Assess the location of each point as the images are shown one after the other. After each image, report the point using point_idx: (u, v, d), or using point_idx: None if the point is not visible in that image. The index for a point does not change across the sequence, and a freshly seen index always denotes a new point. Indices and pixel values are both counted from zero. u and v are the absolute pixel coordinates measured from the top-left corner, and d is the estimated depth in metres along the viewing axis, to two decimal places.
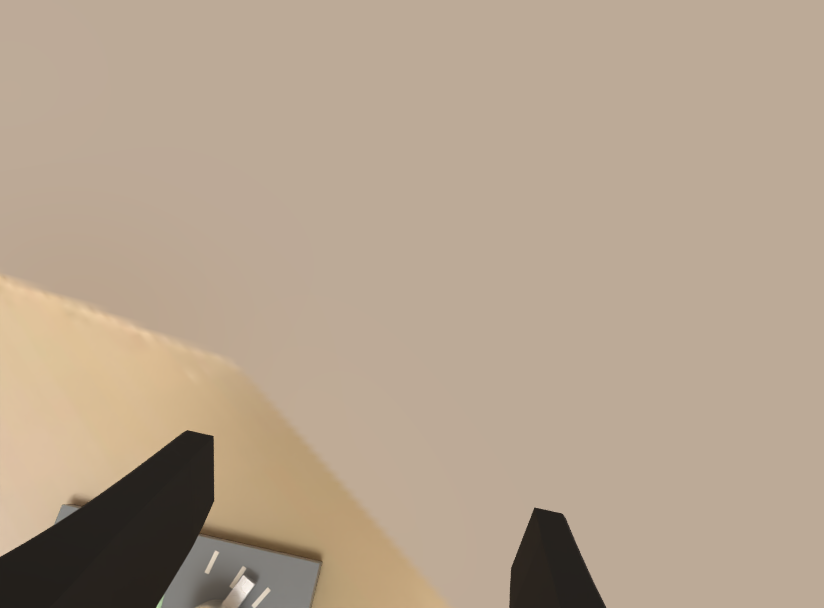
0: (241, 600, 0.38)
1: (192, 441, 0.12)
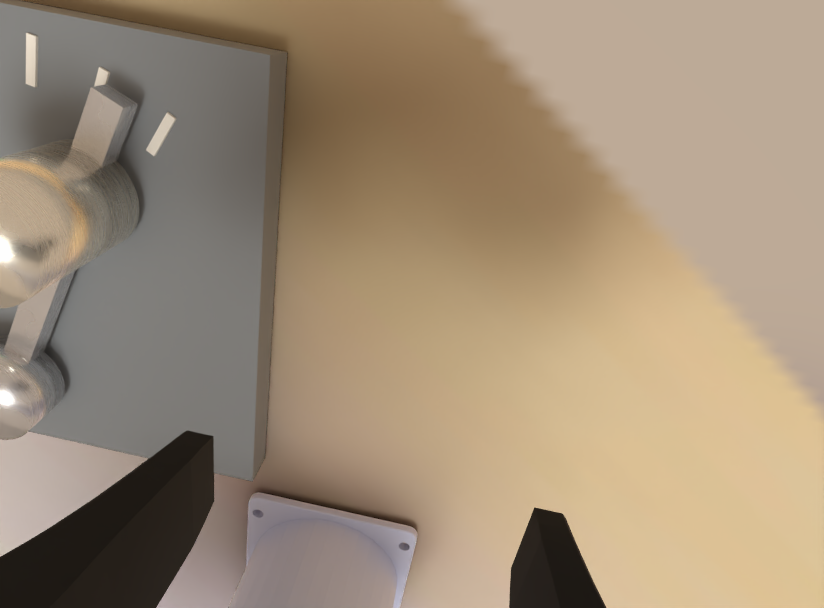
0: (108, 142, 0.17)
1: (192, 441, 0.12)
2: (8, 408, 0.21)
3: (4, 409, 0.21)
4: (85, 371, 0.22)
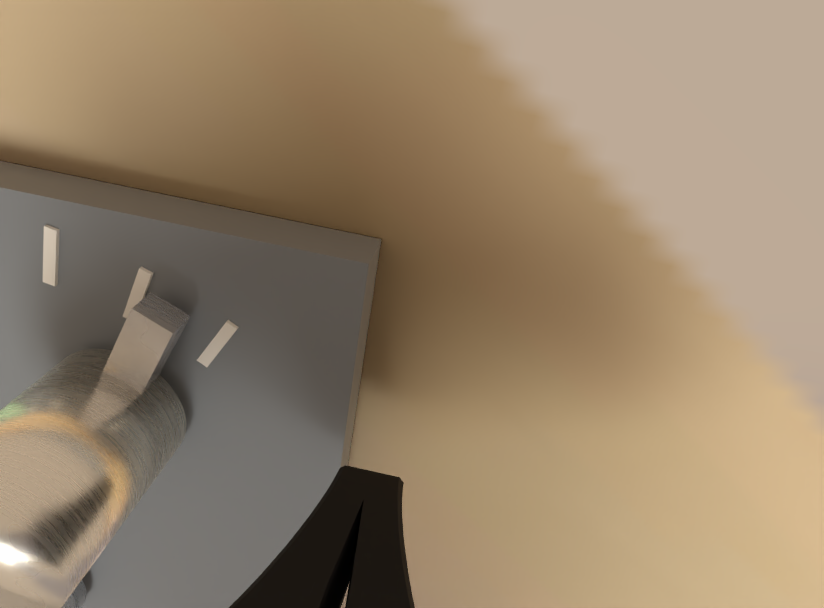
0: (151, 368, 0.13)
1: (355, 478, 0.12)
2: None
3: None
4: (111, 574, 0.19)
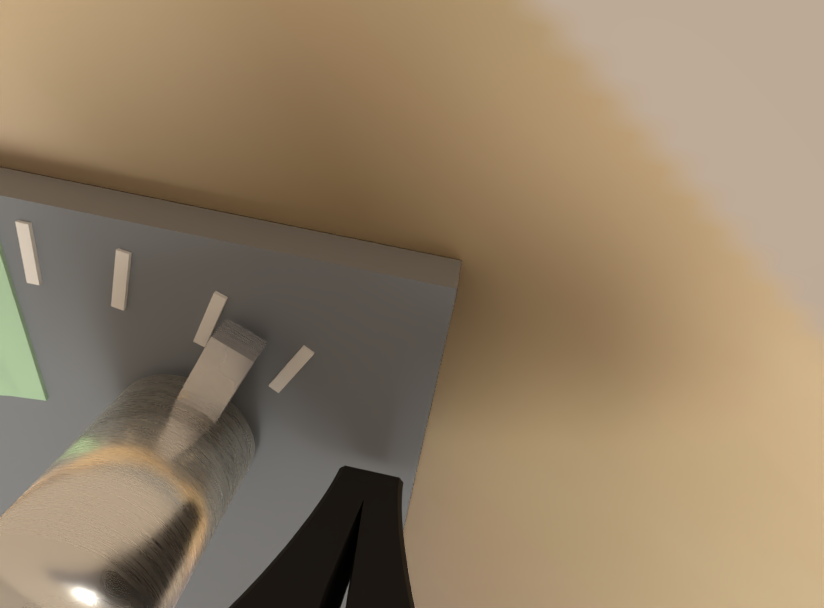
0: (227, 396, 0.12)
1: (355, 478, 0.12)
2: None
3: None
4: None
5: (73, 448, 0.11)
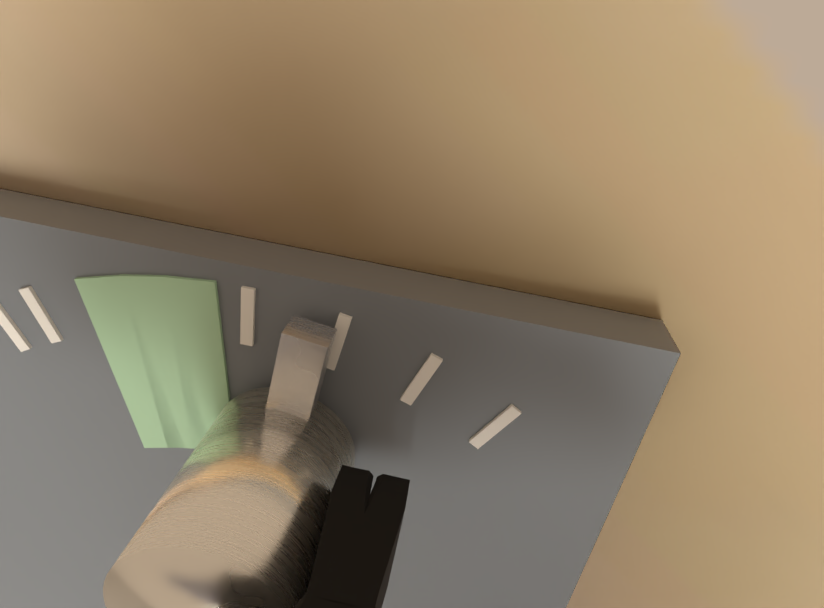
0: (312, 391, 0.12)
1: (394, 486, 0.12)
2: None
3: None
4: None
5: (181, 470, 0.12)
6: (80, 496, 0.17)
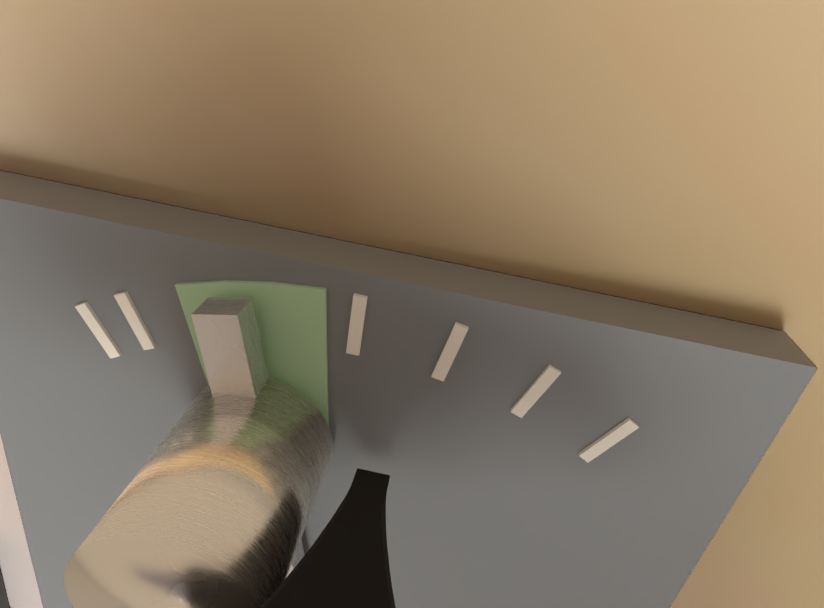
0: (245, 365, 0.12)
1: (374, 481, 0.12)
2: None
3: None
4: None
5: None
6: None
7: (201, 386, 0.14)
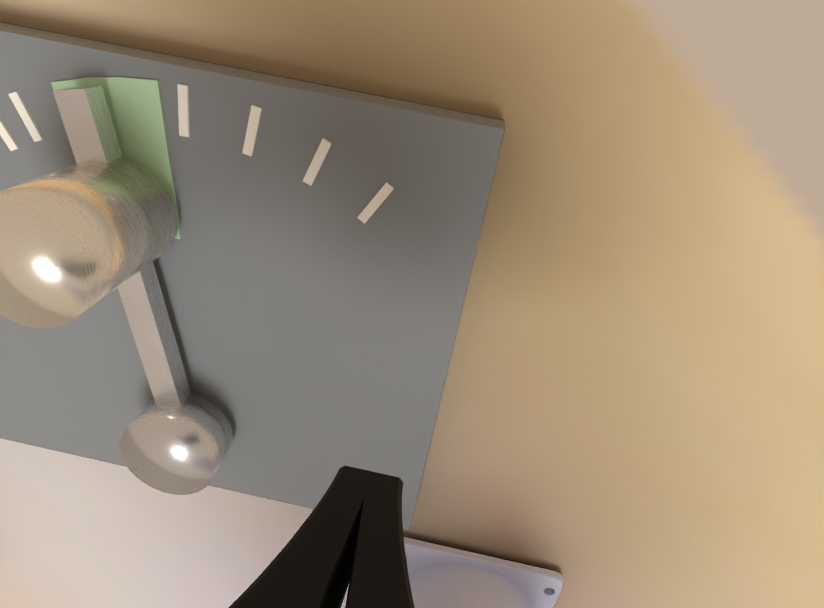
0: (96, 133, 0.16)
1: (356, 477, 0.12)
2: (186, 454, 0.21)
3: (183, 457, 0.21)
4: (252, 424, 0.22)
5: None
6: None
7: None
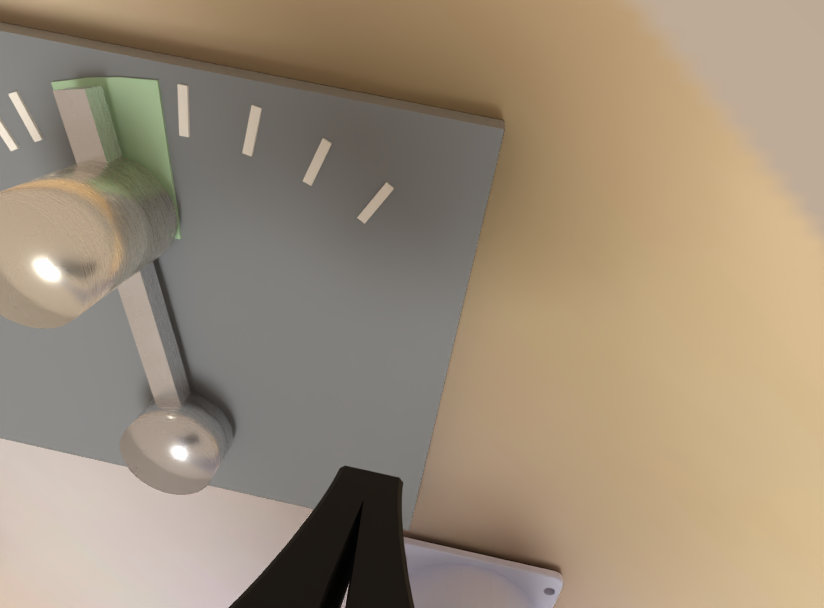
0: (96, 133, 0.16)
1: (356, 477, 0.12)
2: (186, 454, 0.21)
3: (183, 457, 0.21)
4: (252, 424, 0.22)
5: None
6: None
7: None
